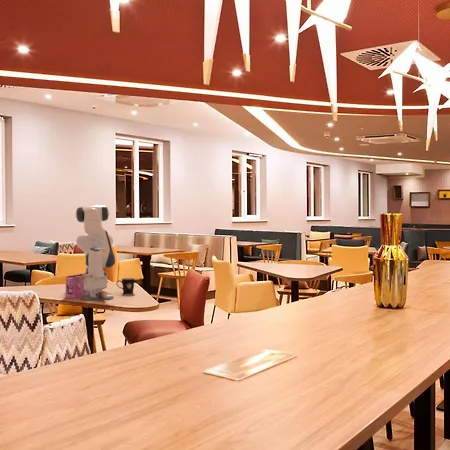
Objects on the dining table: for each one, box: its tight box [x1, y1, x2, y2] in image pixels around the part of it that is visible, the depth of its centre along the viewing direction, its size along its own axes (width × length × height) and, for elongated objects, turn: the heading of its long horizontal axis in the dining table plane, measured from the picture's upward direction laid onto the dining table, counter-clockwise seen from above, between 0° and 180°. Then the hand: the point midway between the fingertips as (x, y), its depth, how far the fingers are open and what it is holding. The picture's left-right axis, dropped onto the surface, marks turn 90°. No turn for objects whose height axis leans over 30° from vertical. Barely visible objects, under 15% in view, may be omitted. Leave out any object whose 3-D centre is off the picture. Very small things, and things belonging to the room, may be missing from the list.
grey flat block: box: [88, 288, 108, 299], centre depth 357 cm, size 20×11×5 cm, turn 30°
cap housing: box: [80, 288, 114, 302], centre depth 361 cm, size 20×20×8 cm
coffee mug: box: [116, 277, 135, 295], centre depth 384 cm, size 12×9×10 cm
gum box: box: [64, 272, 89, 299], centre depth 371 cm, size 24×8×14 cm, turn 159°
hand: (95, 296), depth 349 cm, fingers closed
